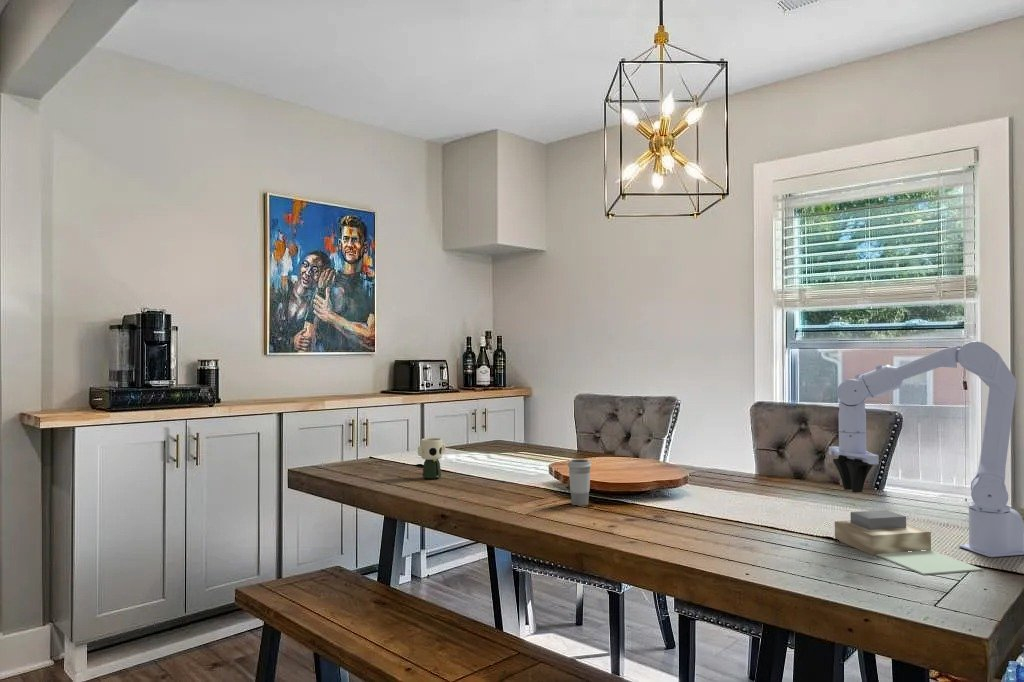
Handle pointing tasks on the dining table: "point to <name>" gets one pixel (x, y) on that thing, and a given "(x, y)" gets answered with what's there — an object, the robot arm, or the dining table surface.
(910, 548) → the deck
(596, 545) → the dining table surface
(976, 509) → the robot arm
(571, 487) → the cup
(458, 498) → the dining table surface
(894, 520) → the slate tile
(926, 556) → the mat
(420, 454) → the character mug
